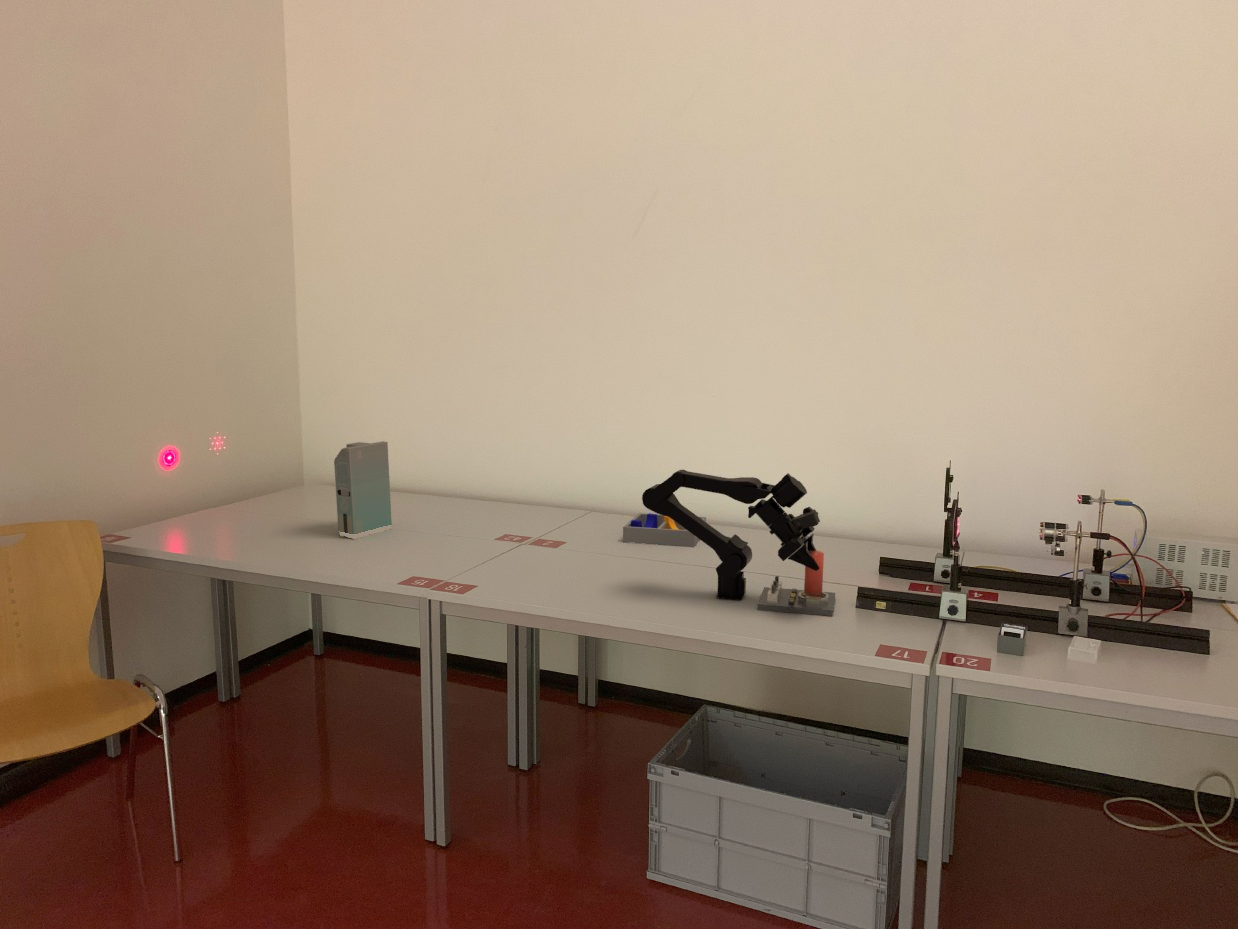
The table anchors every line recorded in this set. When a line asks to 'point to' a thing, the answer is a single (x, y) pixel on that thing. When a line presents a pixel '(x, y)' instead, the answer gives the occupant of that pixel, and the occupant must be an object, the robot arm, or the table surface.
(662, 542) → the parts tray
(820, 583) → the cap
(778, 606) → the grey fixture base plate
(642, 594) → the table surface
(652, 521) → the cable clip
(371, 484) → the device
